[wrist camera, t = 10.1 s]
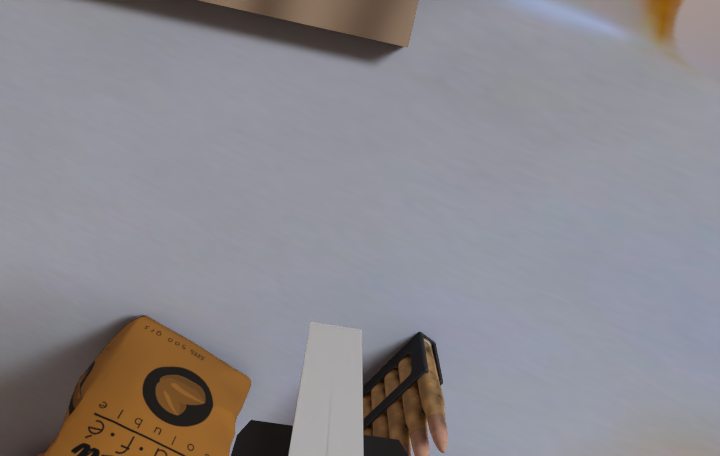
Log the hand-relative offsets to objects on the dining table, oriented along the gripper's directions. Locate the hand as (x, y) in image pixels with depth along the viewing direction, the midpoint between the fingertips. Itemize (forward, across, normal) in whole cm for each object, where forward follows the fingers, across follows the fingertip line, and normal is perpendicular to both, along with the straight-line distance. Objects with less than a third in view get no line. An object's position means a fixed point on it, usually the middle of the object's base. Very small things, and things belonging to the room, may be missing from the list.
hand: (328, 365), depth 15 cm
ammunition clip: (+25, +7, -18) cm, 31 cm away
